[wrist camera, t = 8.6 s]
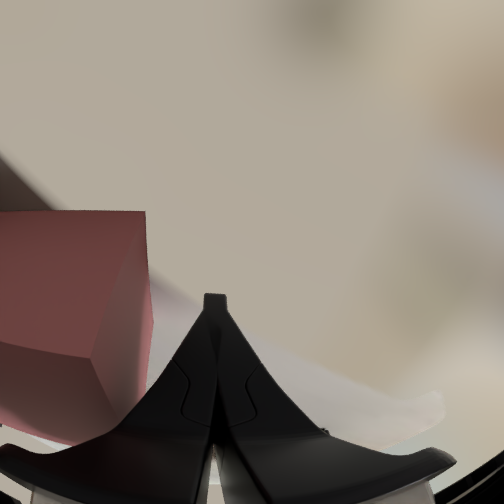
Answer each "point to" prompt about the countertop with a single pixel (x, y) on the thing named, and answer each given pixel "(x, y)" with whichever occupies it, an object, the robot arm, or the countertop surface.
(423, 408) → the countertop surface
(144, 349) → the pink rectangular block
